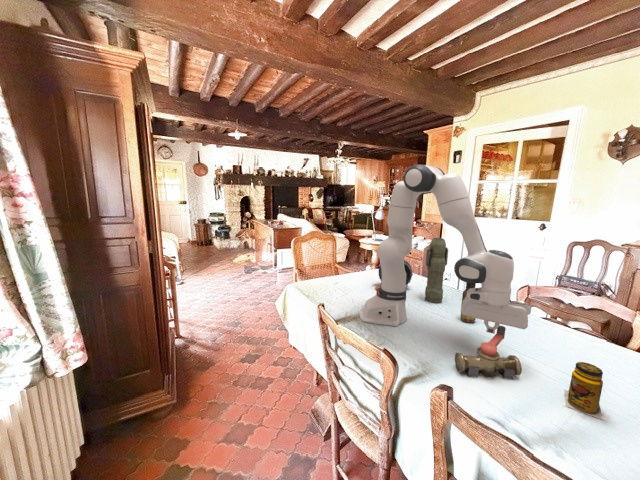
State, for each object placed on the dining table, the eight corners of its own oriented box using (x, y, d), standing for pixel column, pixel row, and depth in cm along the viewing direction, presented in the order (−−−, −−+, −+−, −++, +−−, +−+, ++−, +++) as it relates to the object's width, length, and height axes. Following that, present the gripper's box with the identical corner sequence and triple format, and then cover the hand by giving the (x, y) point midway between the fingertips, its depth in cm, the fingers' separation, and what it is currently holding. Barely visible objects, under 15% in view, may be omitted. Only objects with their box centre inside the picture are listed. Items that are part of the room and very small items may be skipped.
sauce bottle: (477, 324, 121) (482, 282, 118) (462, 322, 123) (466, 281, 119) (472, 317, 128) (476, 278, 124) (458, 316, 129) (462, 277, 126)
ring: (413, 291, 162) (415, 259, 159) (380, 291, 162) (381, 259, 159) (407, 285, 173) (409, 255, 169) (376, 285, 173) (377, 255, 170)
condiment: (565, 406, 74) (572, 367, 72) (564, 389, 81) (570, 353, 79) (603, 420, 70) (612, 379, 68) (598, 402, 76) (606, 363, 74)
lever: (478, 351, 88) (479, 339, 87) (494, 334, 98) (495, 323, 98) (493, 357, 84) (495, 345, 84) (508, 339, 95) (509, 328, 95)
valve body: (461, 376, 86) (464, 356, 85) (453, 364, 93) (455, 345, 91) (520, 380, 85) (523, 360, 84) (508, 367, 91) (511, 348, 90)
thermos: (448, 302, 146) (453, 239, 140) (430, 304, 142) (435, 240, 137) (436, 296, 154) (441, 236, 148) (419, 298, 151) (423, 237, 145)
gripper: (531, 300, 91) (525, 337, 94) (464, 288, 103) (460, 321, 105) (532, 306, 86) (526, 345, 89) (462, 292, 98) (458, 327, 100)
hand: (490, 332), depth 97 cm, fingers closed
